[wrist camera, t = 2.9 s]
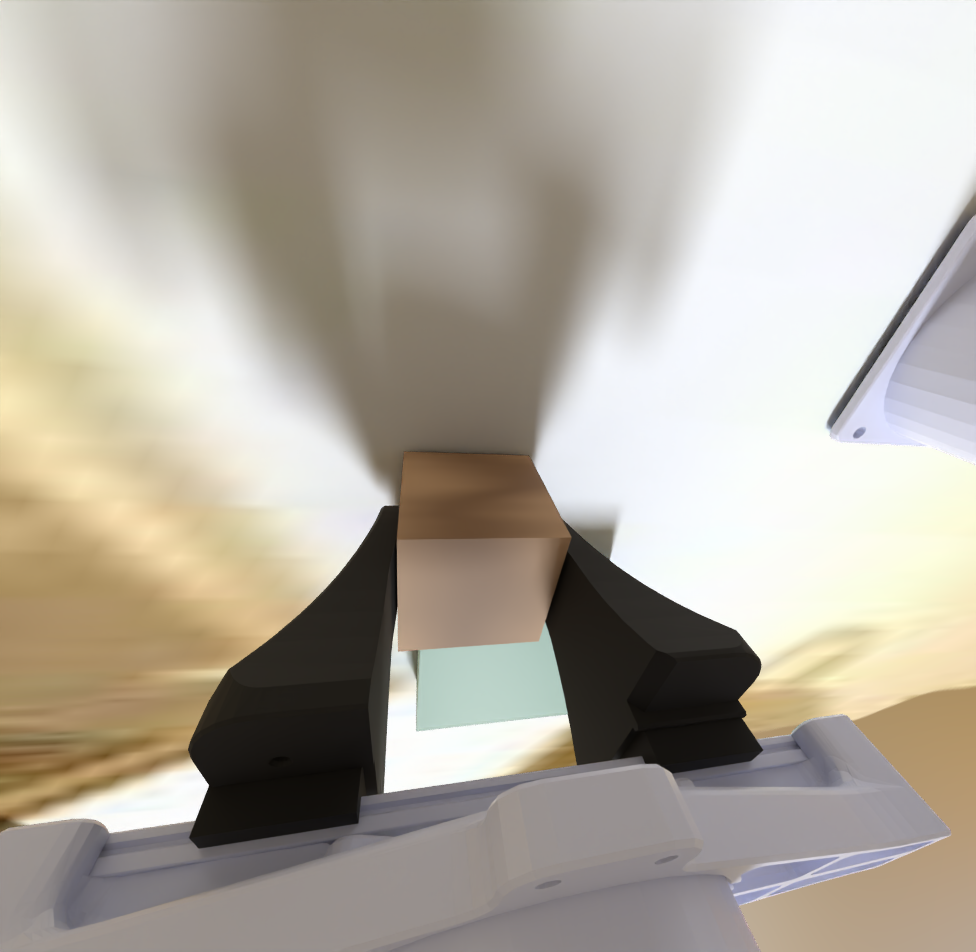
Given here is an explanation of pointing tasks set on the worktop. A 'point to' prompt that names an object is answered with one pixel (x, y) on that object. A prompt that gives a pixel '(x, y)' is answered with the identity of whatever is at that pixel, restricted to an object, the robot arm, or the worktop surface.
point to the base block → (488, 684)
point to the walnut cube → (475, 550)
